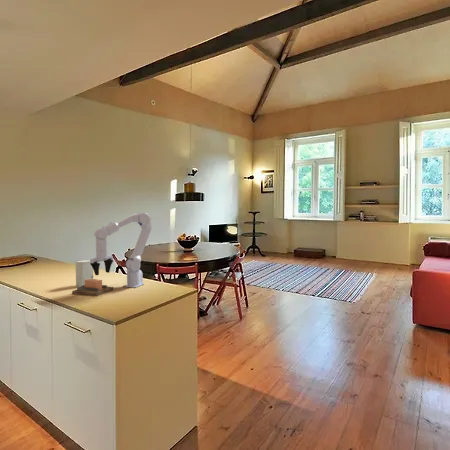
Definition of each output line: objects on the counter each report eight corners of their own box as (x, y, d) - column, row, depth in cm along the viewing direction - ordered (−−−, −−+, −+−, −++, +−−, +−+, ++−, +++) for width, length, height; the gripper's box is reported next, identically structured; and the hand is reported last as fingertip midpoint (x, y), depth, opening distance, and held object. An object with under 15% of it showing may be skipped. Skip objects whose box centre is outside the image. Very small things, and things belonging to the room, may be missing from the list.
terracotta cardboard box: (90, 287, 187) (90, 278, 187) (102, 289, 184) (102, 280, 183) (84, 288, 184) (84, 280, 184) (96, 290, 180) (96, 281, 180)
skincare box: (82, 287, 194) (81, 262, 193) (75, 286, 197) (74, 261, 196) (94, 284, 201) (93, 260, 200) (87, 283, 204) (86, 259, 203)
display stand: (90, 287, 193) (89, 282, 193) (113, 289, 188) (113, 284, 188) (72, 293, 180) (72, 288, 179) (96, 296, 175) (96, 290, 175)
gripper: (96, 251, 178) (96, 276, 179) (116, 248, 191) (117, 271, 191) (86, 251, 181) (87, 275, 182) (107, 247, 194) (108, 270, 195)
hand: (102, 273), depth 187 cm, fingers open, 7 cm apart
